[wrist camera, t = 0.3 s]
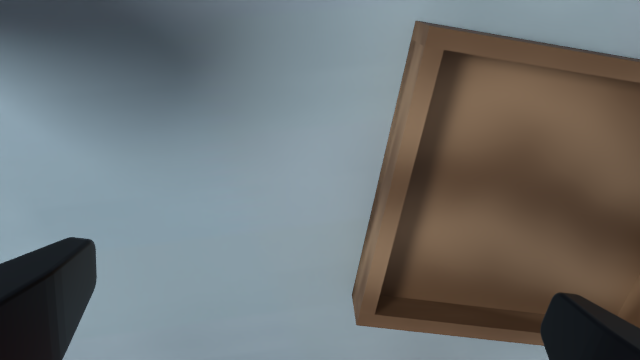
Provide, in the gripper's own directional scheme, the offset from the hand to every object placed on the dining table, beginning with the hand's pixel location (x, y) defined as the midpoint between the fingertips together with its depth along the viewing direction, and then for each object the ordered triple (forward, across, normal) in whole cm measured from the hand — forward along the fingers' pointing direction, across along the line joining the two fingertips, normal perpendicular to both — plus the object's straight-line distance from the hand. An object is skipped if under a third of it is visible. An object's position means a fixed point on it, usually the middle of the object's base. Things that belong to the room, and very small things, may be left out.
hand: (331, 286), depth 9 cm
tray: (+14, -12, +3) cm, 19 cm away
